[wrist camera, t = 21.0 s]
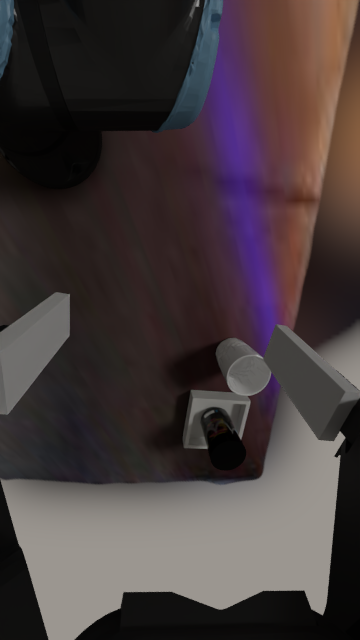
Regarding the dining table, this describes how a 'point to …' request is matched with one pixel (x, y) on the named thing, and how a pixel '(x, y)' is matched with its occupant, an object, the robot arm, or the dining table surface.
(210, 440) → the supplement container
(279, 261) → the dining table surface
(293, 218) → the dining table surface
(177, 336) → the dining table surface
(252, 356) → the white cup
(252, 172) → the dining table surface
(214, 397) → the tray
